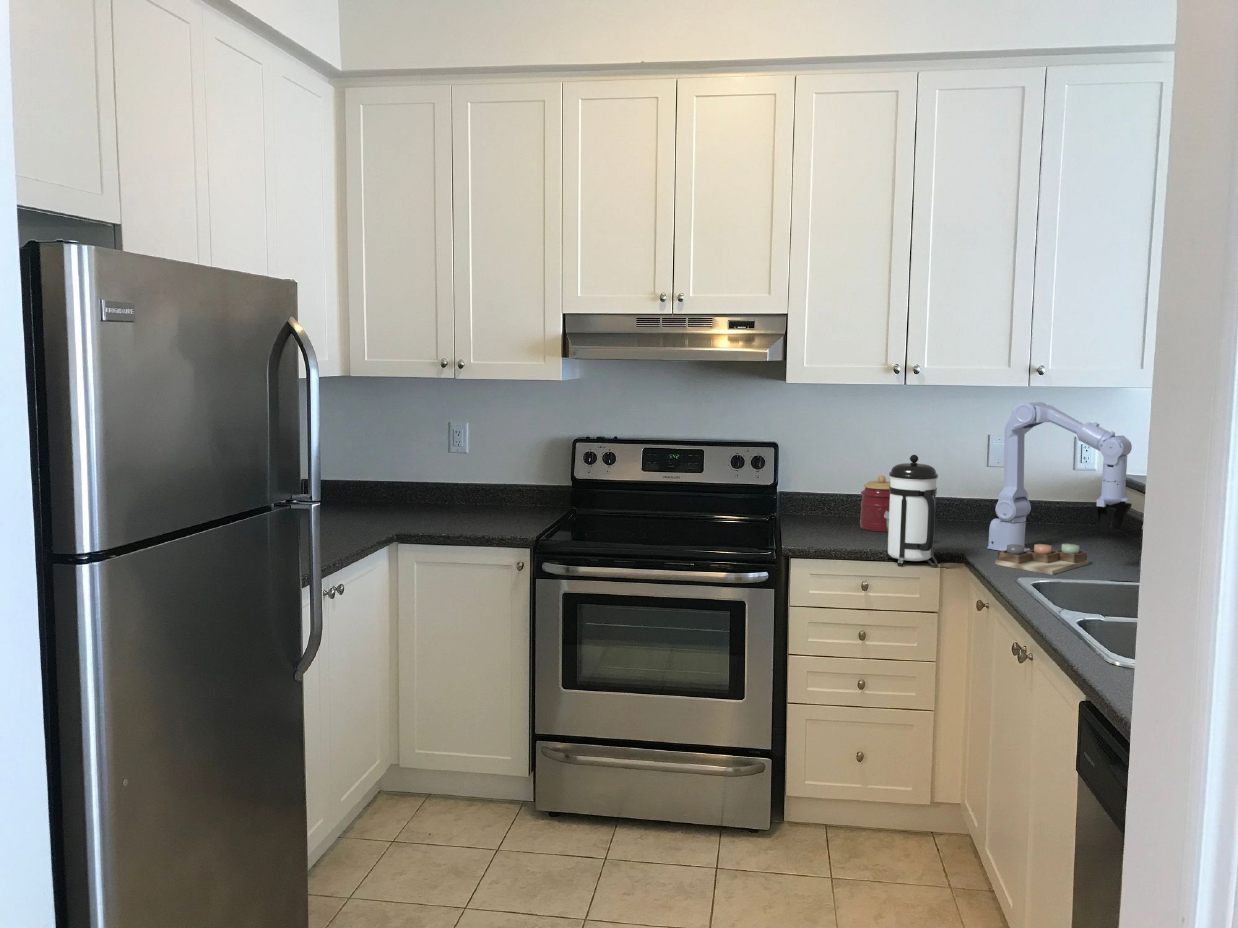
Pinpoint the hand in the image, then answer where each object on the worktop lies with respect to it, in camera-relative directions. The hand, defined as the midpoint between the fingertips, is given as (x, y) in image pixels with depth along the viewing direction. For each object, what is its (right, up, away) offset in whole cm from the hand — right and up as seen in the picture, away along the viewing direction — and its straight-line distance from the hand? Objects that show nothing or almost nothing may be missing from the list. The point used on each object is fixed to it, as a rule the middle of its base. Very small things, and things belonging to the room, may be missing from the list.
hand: (1110, 530), depth 263 cm
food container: (-48, -7, +29) cm, 56 cm away
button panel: (-17, -10, +4) cm, 20 cm away
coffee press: (-52, -10, +5) cm, 53 cm away
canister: (-47, -3, +56) cm, 74 cm away
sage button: (-9, -7, +5) cm, 12 cm away
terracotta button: (-17, -7, +4) cm, 19 cm away
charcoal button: (-25, -7, +3) cm, 26 cm away
